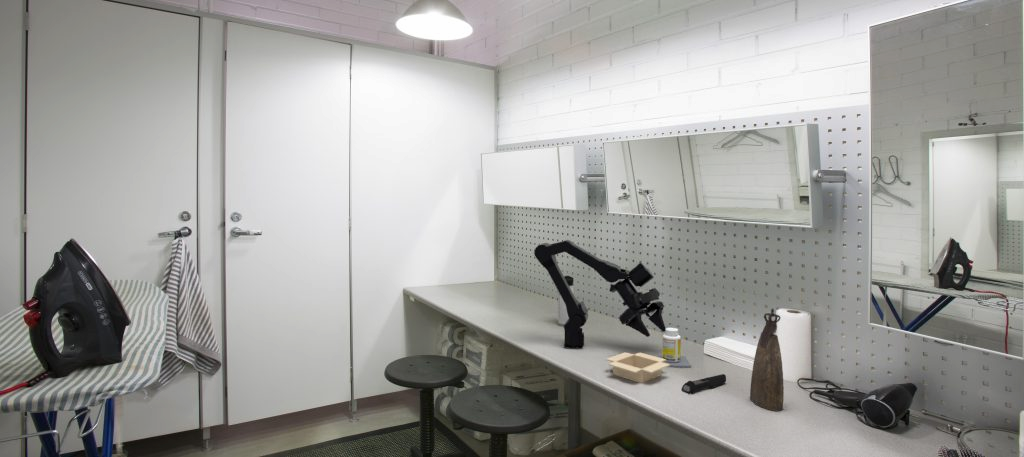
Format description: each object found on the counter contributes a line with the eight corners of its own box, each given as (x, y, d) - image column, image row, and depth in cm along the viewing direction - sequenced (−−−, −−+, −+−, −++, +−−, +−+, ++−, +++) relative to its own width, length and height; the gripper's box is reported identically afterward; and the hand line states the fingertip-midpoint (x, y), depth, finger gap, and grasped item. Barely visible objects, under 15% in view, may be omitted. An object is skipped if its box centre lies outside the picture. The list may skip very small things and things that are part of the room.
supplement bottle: (675, 357, 173) (675, 326, 172) (683, 362, 168) (684, 330, 167) (659, 358, 172) (659, 327, 171) (667, 363, 167) (667, 331, 166)
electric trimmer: (729, 386, 150) (730, 375, 150) (690, 396, 143) (690, 384, 143) (719, 382, 153) (719, 371, 153) (680, 391, 146) (680, 380, 146)
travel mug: (575, 323, 221) (575, 275, 219) (571, 327, 214) (571, 278, 213) (560, 322, 223) (560, 275, 221) (556, 326, 216) (556, 277, 215)
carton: (599, 374, 159) (599, 361, 159) (631, 362, 170) (631, 350, 170) (644, 388, 147) (644, 374, 147) (675, 375, 158) (675, 361, 158)
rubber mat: (658, 366, 166) (658, 364, 166) (654, 356, 175) (654, 355, 175) (691, 368, 164) (691, 366, 164) (685, 357, 174) (685, 356, 174)
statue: (788, 403, 137) (788, 308, 134) (780, 413, 131) (780, 315, 128) (753, 395, 142) (752, 304, 140) (744, 405, 136) (743, 311, 134)
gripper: (627, 284, 170) (656, 324, 162) (660, 277, 182) (688, 315, 175) (607, 304, 176) (634, 344, 169) (640, 296, 189) (667, 333, 181)
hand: (657, 333), depth 173 cm, fingers open, 9 cm apart
